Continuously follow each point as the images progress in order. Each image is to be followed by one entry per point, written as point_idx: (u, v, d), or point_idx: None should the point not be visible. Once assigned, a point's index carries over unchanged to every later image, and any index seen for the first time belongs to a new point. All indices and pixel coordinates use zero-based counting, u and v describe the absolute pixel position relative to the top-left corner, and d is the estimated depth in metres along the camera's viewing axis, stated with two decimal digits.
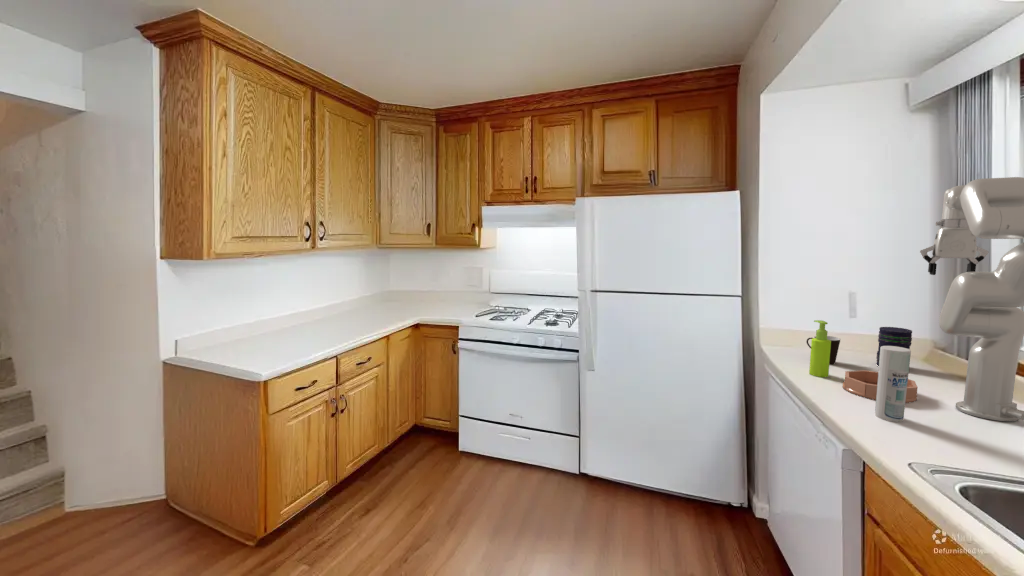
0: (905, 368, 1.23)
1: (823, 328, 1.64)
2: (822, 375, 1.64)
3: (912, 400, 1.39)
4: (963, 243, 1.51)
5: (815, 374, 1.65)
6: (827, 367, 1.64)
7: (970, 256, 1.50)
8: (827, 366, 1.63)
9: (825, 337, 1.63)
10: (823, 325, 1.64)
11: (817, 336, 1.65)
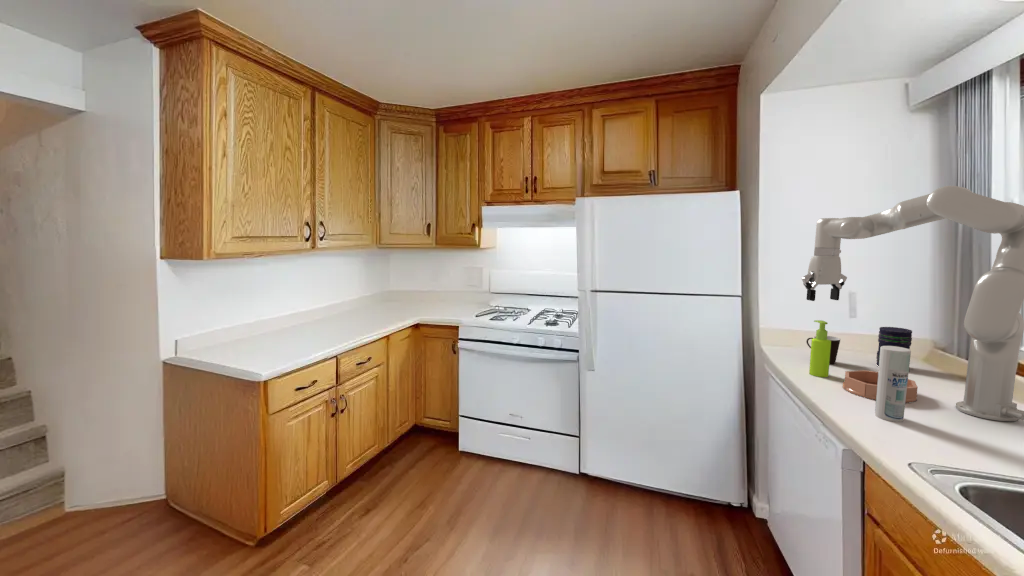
0: (905, 368, 1.23)
1: (823, 328, 1.64)
2: (822, 375, 1.64)
3: (912, 400, 1.39)
4: None
5: (815, 374, 1.65)
6: (827, 367, 1.64)
7: None
8: (827, 366, 1.63)
9: (825, 337, 1.63)
10: (823, 325, 1.64)
11: (817, 336, 1.65)
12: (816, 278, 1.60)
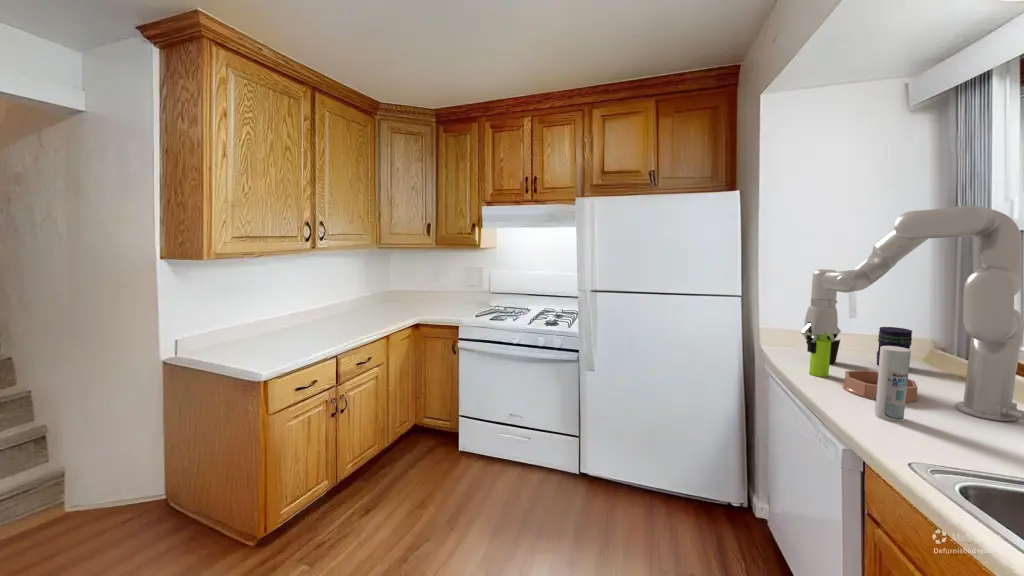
0: (905, 368, 1.23)
1: None
2: (822, 375, 1.64)
3: (912, 400, 1.39)
4: None
5: (815, 374, 1.65)
6: (827, 367, 1.64)
7: None
8: (827, 366, 1.63)
9: (825, 337, 1.63)
10: None
11: (817, 336, 1.65)
12: (813, 329, 1.63)
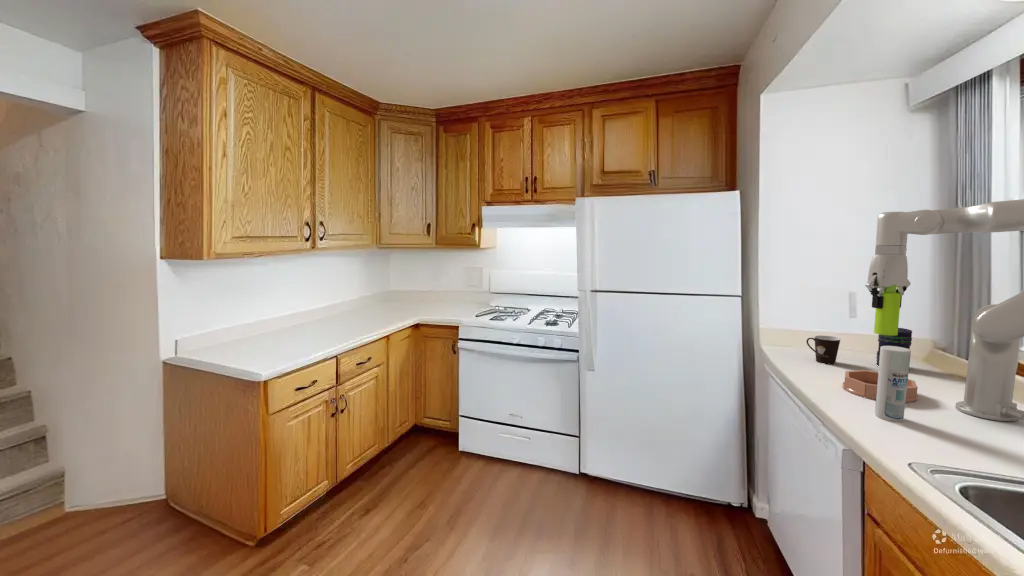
0: (905, 368, 1.23)
1: None
2: (891, 333, 1.42)
3: (912, 400, 1.39)
4: None
5: (882, 332, 1.43)
6: (897, 324, 1.42)
7: None
8: (897, 323, 1.42)
9: (894, 289, 1.42)
10: None
11: (884, 289, 1.43)
12: (880, 280, 1.41)
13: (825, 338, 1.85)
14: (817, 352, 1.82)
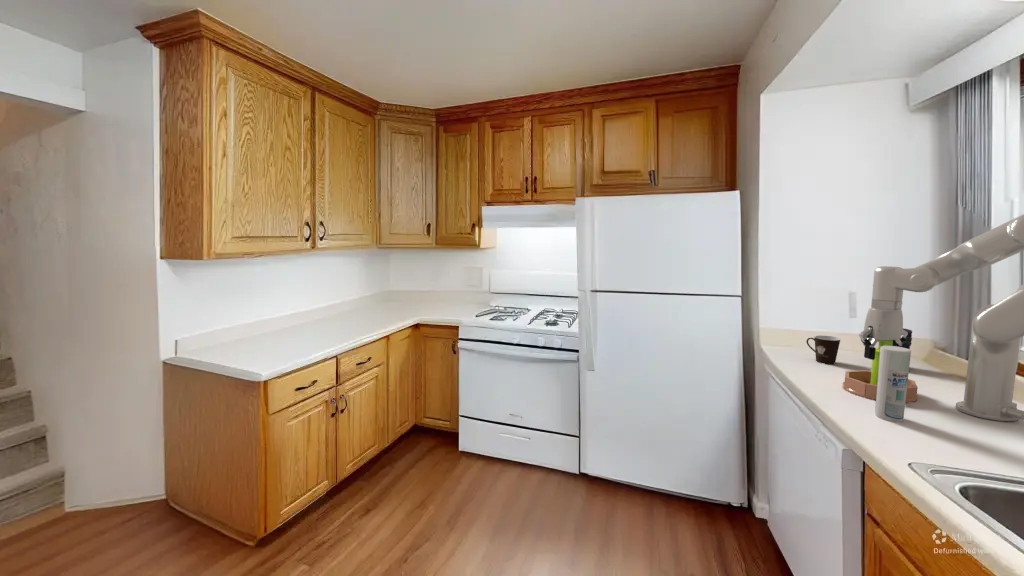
0: (905, 368, 1.23)
1: None
2: None
3: (912, 400, 1.39)
4: None
5: None
6: None
7: None
8: None
9: None
10: None
11: (880, 346, 1.45)
12: (876, 334, 1.43)
13: (825, 338, 1.85)
14: (817, 352, 1.82)
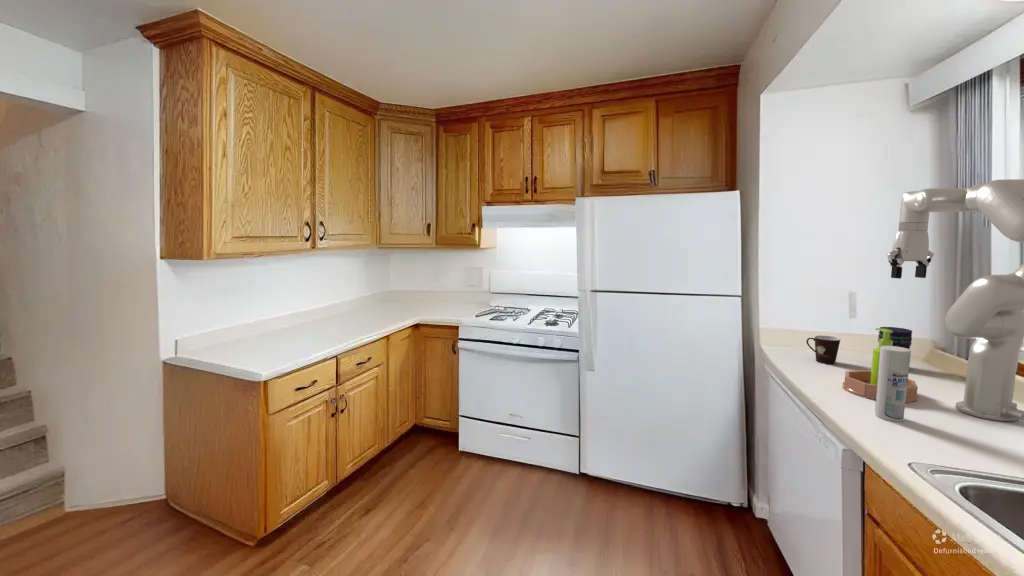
0: (905, 368, 1.23)
1: (888, 337, 1.44)
2: None
3: (912, 400, 1.39)
4: None
5: None
6: None
7: None
8: None
9: None
10: (888, 334, 1.44)
11: (880, 346, 1.45)
12: (903, 254, 1.53)
13: (825, 338, 1.85)
14: (817, 352, 1.82)
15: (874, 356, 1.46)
